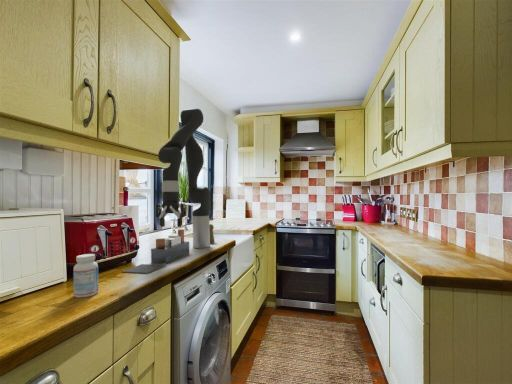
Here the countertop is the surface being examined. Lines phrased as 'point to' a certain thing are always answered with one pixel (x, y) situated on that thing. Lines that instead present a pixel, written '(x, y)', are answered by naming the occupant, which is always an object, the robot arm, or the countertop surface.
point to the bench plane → (169, 250)
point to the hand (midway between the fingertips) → (170, 226)
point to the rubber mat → (143, 269)
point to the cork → (211, 233)
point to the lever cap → (172, 240)
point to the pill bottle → (85, 276)
